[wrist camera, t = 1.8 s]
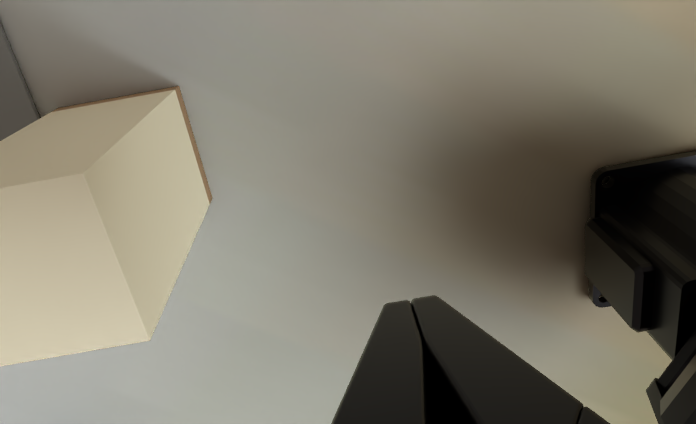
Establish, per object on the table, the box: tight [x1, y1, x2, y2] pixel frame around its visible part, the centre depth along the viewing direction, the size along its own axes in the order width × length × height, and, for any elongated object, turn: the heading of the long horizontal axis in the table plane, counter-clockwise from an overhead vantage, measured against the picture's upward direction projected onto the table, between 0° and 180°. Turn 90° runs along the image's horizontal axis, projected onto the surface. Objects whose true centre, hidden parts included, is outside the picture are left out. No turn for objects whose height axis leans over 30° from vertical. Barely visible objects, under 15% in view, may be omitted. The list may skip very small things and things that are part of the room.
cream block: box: [0, 86, 212, 366], centre depth 17 cm, size 4×4×9 cm
